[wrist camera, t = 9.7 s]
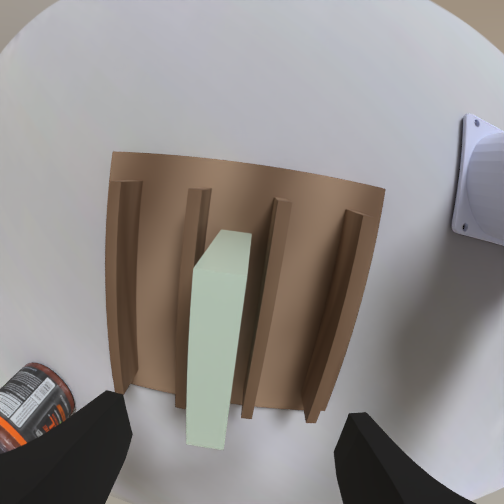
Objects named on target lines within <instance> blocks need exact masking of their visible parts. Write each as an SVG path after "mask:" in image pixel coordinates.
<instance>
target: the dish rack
mask: <svg viewBox="0 0 504 504" xmlns="http://www.w3.org/2000/svg"><path fill="white" fill-rule="evenodd" d="M384 195H385V189H383V188H379V187H375V186H371V185H366V184H362V183H357V182H352V181H348V180H343V179H338V178H333V177H328V176H323V175H317V174H312V173H307V172H301V171H295V170H289V169H283V168H277V167H270V166H264V165H257V164H250V163H242V162H234V161H226V160H218V159H209V158H199V157H189V156H178V155H165V154H151V153H134V152H113V153H112V161H111V170H110V179H109V190H108V203H107V219H106V245H105V285H106V311H107V327H108V340H109V351H110V360H111V369H112V376H113V382H114V389H115V392H116V393H120V394H123V395H124V394H125V392H126V390H127V389H128V387H129V385H130V384H134V385H138V386H142V387H146V388H150V389H155V390H159V391H164V392H168V393H173V394H175V407H177V408H182V409H186V406H187V367H188V343H189V323H190V307H191V292H192V279H193V268H194V267H195V265H196V264H197V263H198V261H199V260H200V258H201V257H202V255H203V254H204V253H205V251H206V250H207V248H208V247H209V246H210V244H211V243H212V241H213V240H214V239H215V237H216V236H217V234H218V233H219V232H220V230H229V231H236V232H244V233H251V234H252V237H251V246H250V255H249V264H248V274H247V282H246V289H245V296H244V303H243V311H242V318H241V325H240V332H239V340H238V347H237V354H236V362H235V369H234V376H233V384H232V391H231V398H230V403H231V404H239V405H242V412H241V418H246V419H252V415H253V410H254V406H256V407H266V408H278V409H293V410H304V414H305V420H306V423H316V421H317V419H318V416H319V414H320V411H325V409H326V407H327V404H328V402H329V399H330V396H331V394H332V391H333V388H334V386H335V383H336V380H337V377H338V374H339V372H340V369H341V366H342V363H343V360H344V357H345V354H346V351H347V348H348V345H349V342H350V338H351V335H352V332H353V329H354V325H355V322H356V318H357V315H358V311H359V308H360V304H361V301H362V297H363V293H364V289H365V285H366V282H367V278H368V273H369V269H370V265H371V261H372V256H373V252H374V247H375V243H376V238H377V233H378V228H379V223H380V218H381V212H382V207H383V201H384Z"/></svg>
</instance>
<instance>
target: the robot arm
mask: <svg viewBox="0 0 504 504" xmlns="http://www.w3.org/2000/svg"><path fill="white" fill-rule="evenodd" d="M474 121H475V122H476V126H475V123H474ZM464 224H465V228H464V229H463V225H464ZM452 230H453V231H454V232H455V233H458V234H462V235H466V236H470V237H473V238H477V239H481V240H485V241H488V242H492V243H495V244H499V245H502V246H504V131H502V130H500V129H499V128H497V127H495V126H493V125H492V124H490V123H488V122H486V121H484V120H483V119H481V118H479V117H477V116H475V115H473V114H471V113H468V114H465V115H464V118H463V140H462V153H461V164H460V173H459V181H458V189H457V196H456V202H455V208H454V214H453V219H452ZM132 435H133V434H132V430H131V426H130V422H129V418H128V414H127V410H126V406H125V401H124V397H123V394H120V393H116V392H112V391H108V390H106V391H105V392H103V393H102V394H101V395H99V396H98V397H97V398H95V399H94V400H92V401H91V402H90V403H88V404H87V405H86V406H84V407H83V408H82V409H80V410H79V411H77V412H76V413H75V414H73V415H72V416H70V417H69V418H68V419H66V420H65V421H63V422H62V423H60V424H59V425H57V426H56V427H54V428H52V429H51V430H49V431H47V432H46V433H44V434H43V435H41V436H39V437H38V438H36V439H34V440H32V441H30V442H28V443H26V444H24V445H22V446H19V447H17V448H15V449H13V450H10V451H8V452H5V453H2V454H0V504H105V503H106V500H107V498H108V496H109V494H110V492H111V489H112V487H113V485H114V483H115V481H116V479H117V476H118V474H119V472H120V470H121V468H122V465H123V463H124V461H125V459H126V455H127V452H128V449H129V445H130V442H131V438H132ZM334 459H335V468H336V476H337V481H338V485H339V489H340V493H341V497H342V500H343V504H476V503H474V502H472V501H470V500H468V499H466V498H464V497H462V496H460V495H458V494H457V493H455V492H453V491H452V490H450V489H449V488H447V487H446V486H444V485H443V484H441V483H440V482H438V481H437V480H436V479H434V478H433V477H432V476H430V475H429V474H428V473H427V472H425V471H424V470H423V469H422V468H421V467H420V466H418V465H417V464H416V463H415V462H414V461H413V460H412V459H411V458H410V457H408V456H407V455H406V454H405V453H404V452H403V451H402V450H401V449H400V448H399V447H398V446H397V445H396V444H395V443H394V442H393V441H392V440H391V438H390V437H389V436H388V435H387V434H386V433H385V432H384V431H383V430H382V429H381V428H380V427H379V426H378V424H377V423H376V422H375V421H374V420H373V419H372V418H371V417H370V416H369V415H368V414H367V413H366V412H364V413H349V415H348V417H347V420H346V423H345V425H344V428H343V430H342V433H341V435H340V438H339V440H338V443H337V445H336V448H335V450H334Z"/></svg>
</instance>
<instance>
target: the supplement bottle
mask: <svg viewBox="0 0 504 504" xmlns="http://www.w3.org/2000/svg"><path fill="white" fill-rule="evenodd" d="M73 409H74V400H73V397H72V395H71V392H70V390H69V389H68V387H67V386H66V384H65V383H64V382H63V381H62V379H61V378H60V377H59V376H58V375H57V374H56V373H54V372H53V371H52V370H51V369H49V368H48V367H46V366H44V365H42V364H38V363H29V364H27V365H25V366H24V367H23V368H22V369H21V370H19V372H17V373H16V374H15V375H14V376H13V377H12V378H11V379H10V380H9V381H8V382H7V383H6V384H5V385H4V386H3V387H2V388H1V389H0V454H2V453H5V452H8V451H10V450H13V449H15V448H17V447H19V446H22V445H24V444H26V443H28V442H30V441H32V440H34V439H36V438H38V437H39V436H41V435H43V434H44V433H46V432H47V431H49V430H51V429H52V428H54V427H56V426H57V425H59V424H60V423H62V422H63V421H65V420H66V419H68V418H69V417H70V415H71V414H72V412H73Z"/></svg>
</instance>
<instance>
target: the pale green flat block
mask: <svg viewBox="0 0 504 504" xmlns="http://www.w3.org/2000/svg"><path fill="white" fill-rule="evenodd" d="M251 237H252V234H251V233H244V232H236V231H229V230H220V232H219V233H218V234H217V236H216V237H215V239H214V240H213V241H212V243H211V244H210V246H209V247H208V248H207V250H206V251H205V253H204V254H203V255H202V257H201V258H200V260H199V261H198V263H197V264H196V265H195V267H194V268H193V279H192V292H191V307H190V323H189V343H188V367H187V407H186V444H188V445H194V446H199V447H205V448H212V449H219V450H224V442H225V435H226V428H227V420H228V413H229V406H230V398H231V391H232V384H233V376H234V369H235V362H236V354H237V347H238V340H239V332H240V325H241V318H242V311H243V303H244V296H245V289H246V282H247V274H248V264H249V255H250V246H251Z"/></svg>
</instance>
